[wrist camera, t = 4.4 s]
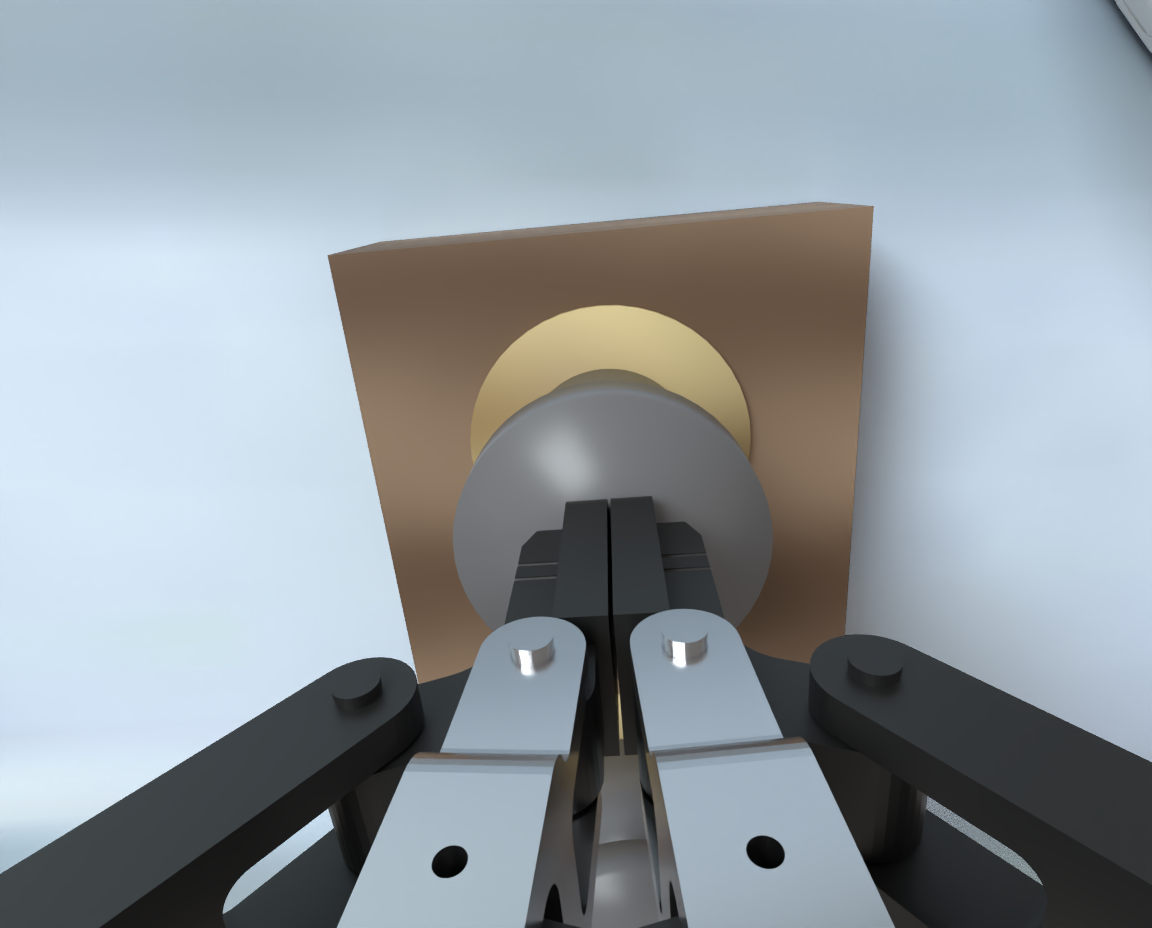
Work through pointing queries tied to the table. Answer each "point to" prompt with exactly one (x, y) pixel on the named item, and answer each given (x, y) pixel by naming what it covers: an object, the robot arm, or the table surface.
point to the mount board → (627, 342)
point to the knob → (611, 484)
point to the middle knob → (623, 851)
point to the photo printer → (1139, 18)
